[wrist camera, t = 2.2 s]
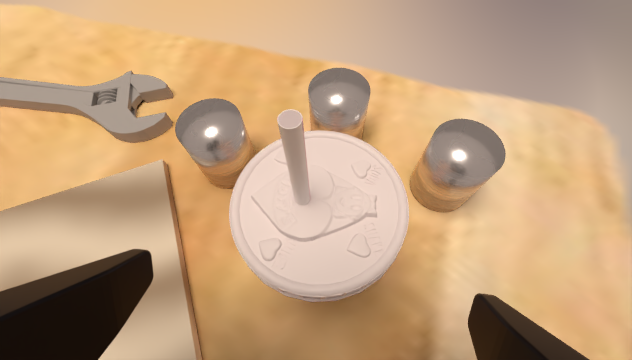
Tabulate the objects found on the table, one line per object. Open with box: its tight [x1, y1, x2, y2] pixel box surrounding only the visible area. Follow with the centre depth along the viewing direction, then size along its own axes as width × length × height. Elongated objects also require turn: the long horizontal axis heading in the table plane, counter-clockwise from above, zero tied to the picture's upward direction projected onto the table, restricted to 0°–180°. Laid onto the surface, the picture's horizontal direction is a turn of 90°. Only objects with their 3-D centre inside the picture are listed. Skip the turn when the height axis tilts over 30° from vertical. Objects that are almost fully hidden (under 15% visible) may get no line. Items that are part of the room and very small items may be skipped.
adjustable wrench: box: [0, 71, 173, 143], centre depth 26 cm, size 25×6×2 cm, turn 76°
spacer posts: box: [175, 68, 505, 212], centre depth 20 cm, size 8×19×5 cm, turn 83°
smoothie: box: [229, 109, 409, 302], centre depth 13 cm, size 6×6×14 cm
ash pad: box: [0, 159, 202, 360], centre depth 17 cm, size 16×16×1 cm
